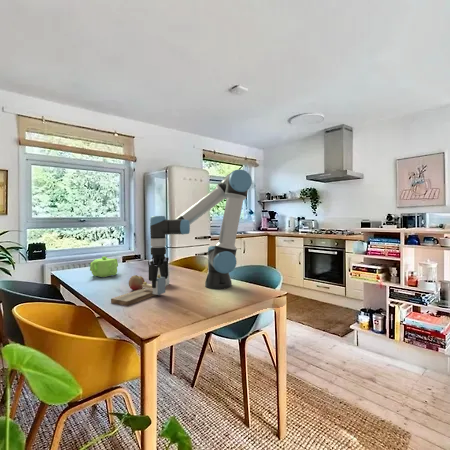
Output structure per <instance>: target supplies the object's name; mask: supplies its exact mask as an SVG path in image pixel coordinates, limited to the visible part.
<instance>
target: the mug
mask: <svg viewBox="0 0 450 450" xmlns="http://www.w3.org/2000/svg"><path fill="white" fill-rule="evenodd" d="M157 275H160V269H159V268H158V274H157ZM160 276H161V275H160ZM170 281H171V280H170V266H168V277H167V279H165V282H166V284H165V287H167V286H169V285H170ZM150 282H151V283H152V281H150Z"/></svg>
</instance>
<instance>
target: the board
mask: <svg viewBox="0 0 450 450" xmlns="http://www.w3.org/2000/svg"><path fill="white" fill-rule="evenodd" d="M154 296H156V295H155V294H153V289H151V288H144V287H143V288H142V289H139V290H136V291H134V290H132V291H131V292H130V291H129V292H128V293H125V294H121V295H118V296H115V297H112V298H110V303H111V304H114V305H120V306H124V307H125V306H131V305H133V304H136V303H138V302H141V301H144V300H147V299H149V298H151V297H154Z"/></svg>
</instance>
